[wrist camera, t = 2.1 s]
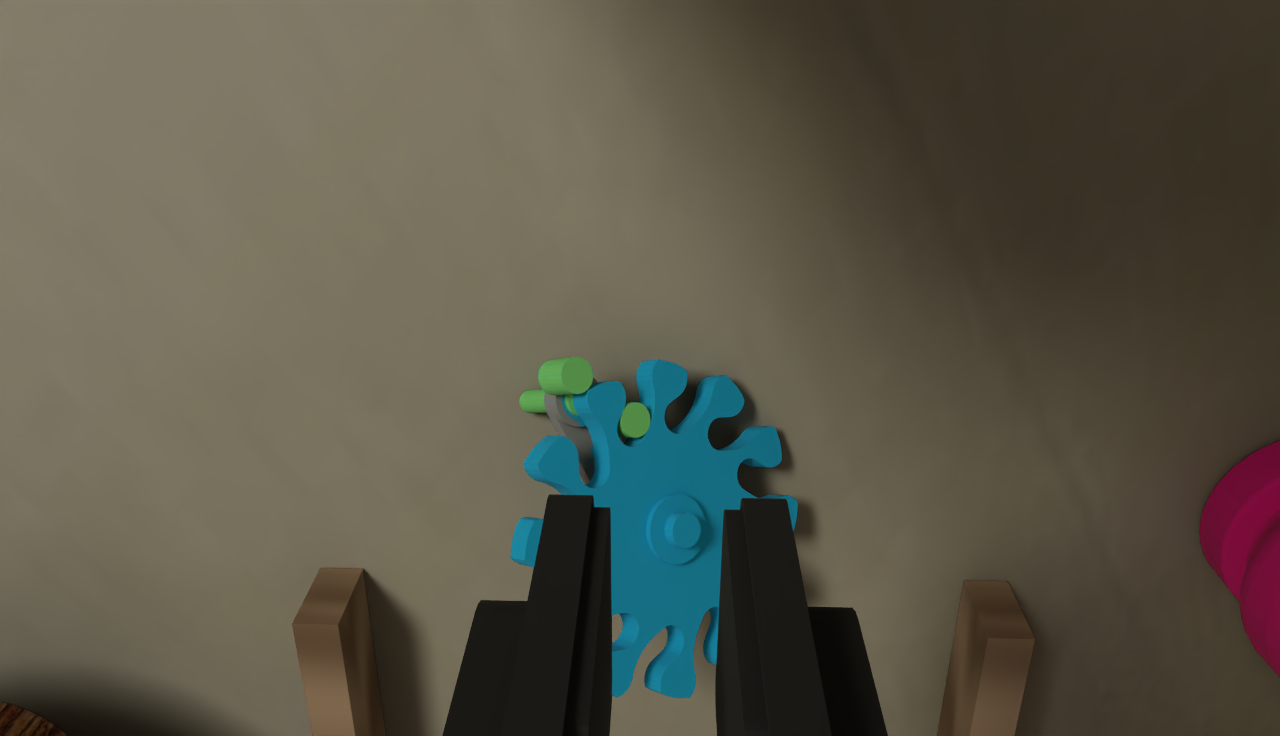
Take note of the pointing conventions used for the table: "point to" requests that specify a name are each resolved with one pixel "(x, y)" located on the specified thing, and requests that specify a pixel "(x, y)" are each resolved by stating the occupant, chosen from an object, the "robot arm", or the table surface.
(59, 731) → the decorative tree
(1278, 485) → the pepper mill
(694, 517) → the gear
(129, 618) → the table surface
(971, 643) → the frame
